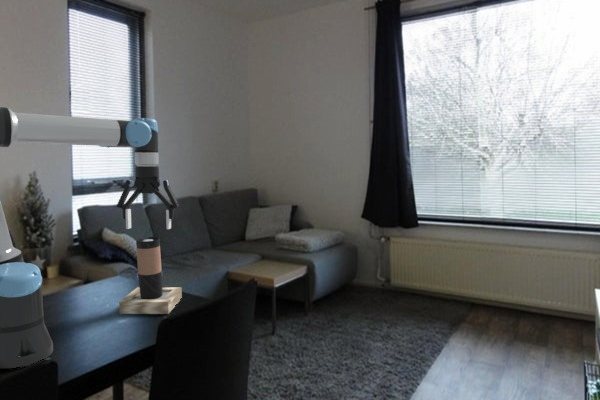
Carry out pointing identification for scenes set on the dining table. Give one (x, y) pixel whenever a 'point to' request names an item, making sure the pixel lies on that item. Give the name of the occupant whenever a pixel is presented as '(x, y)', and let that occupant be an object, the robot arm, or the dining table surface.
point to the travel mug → (149, 267)
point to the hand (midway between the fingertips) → (148, 228)
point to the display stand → (151, 302)
